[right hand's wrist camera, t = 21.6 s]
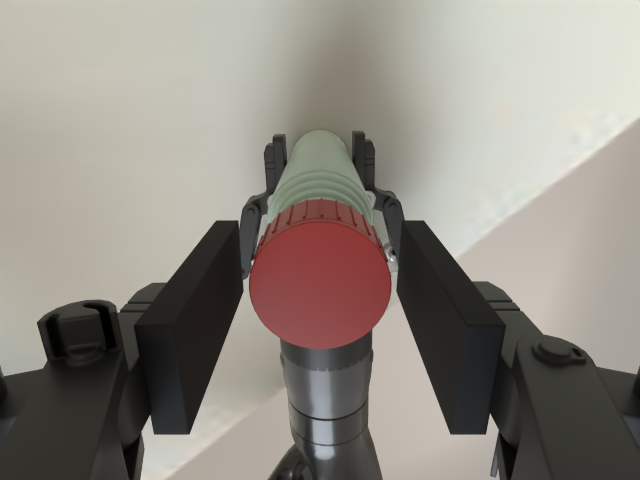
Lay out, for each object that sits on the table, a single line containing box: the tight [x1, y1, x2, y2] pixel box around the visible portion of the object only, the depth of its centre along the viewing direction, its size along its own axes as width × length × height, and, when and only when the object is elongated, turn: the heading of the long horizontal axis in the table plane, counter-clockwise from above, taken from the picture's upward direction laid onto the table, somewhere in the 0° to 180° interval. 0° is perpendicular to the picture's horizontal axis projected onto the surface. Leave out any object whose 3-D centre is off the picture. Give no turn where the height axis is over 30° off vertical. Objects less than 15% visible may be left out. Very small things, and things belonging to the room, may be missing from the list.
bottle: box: [267, 130, 373, 226], centre depth 24 cm, size 5×5×24 cm
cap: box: [249, 198, 391, 349], centre depth 13 cm, size 4×4×2 cm
